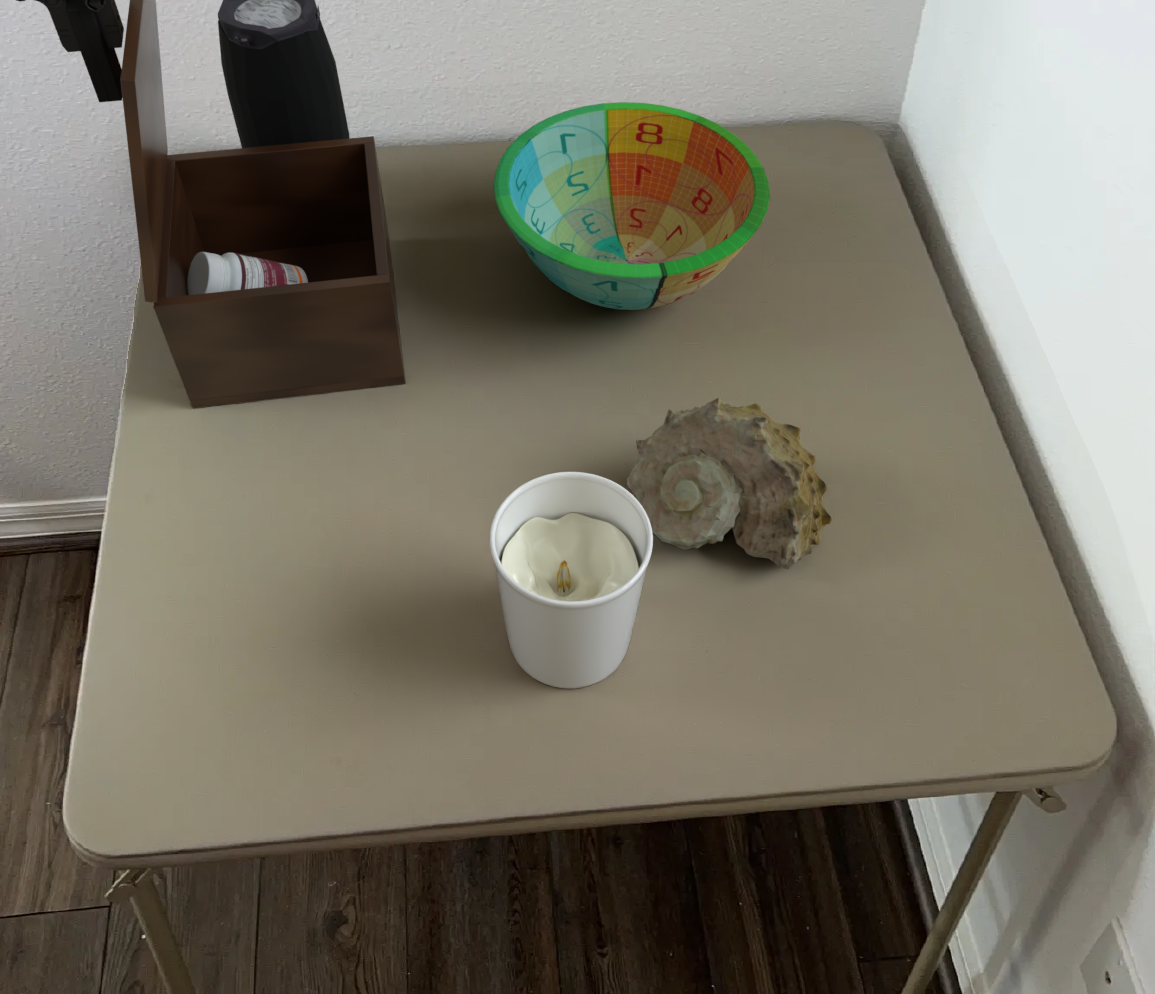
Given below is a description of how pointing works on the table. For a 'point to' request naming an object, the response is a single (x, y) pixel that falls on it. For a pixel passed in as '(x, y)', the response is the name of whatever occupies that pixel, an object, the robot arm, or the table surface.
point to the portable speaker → (280, 73)
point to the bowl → (630, 201)
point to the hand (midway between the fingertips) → (111, 89)
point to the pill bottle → (238, 273)
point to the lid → (145, 134)
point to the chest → (290, 236)
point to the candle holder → (570, 575)
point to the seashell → (731, 482)
